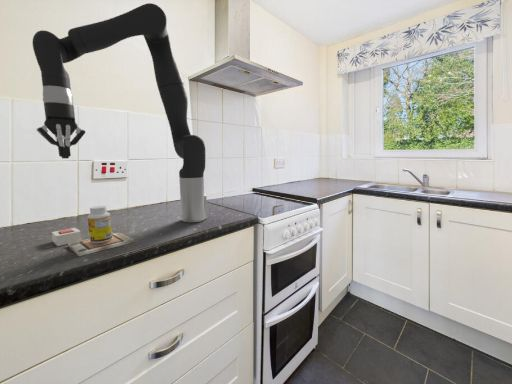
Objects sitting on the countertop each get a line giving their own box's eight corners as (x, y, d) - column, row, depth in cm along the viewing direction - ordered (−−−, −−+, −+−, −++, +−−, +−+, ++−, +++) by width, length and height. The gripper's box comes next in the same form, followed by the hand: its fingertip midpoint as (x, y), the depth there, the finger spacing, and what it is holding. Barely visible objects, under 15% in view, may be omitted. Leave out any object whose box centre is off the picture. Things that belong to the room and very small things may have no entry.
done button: (71, 236, 79) (70, 228, 78) (74, 238, 77) (73, 230, 76) (59, 238, 77) (58, 230, 76) (62, 241, 75) (61, 232, 74)
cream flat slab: (119, 234, 83) (119, 231, 83) (134, 242, 76) (133, 239, 76) (68, 246, 72) (67, 243, 72) (79, 256, 65) (78, 252, 65)
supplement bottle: (91, 239, 75) (87, 206, 74) (112, 236, 78) (109, 204, 76) (89, 245, 70) (85, 209, 69) (112, 242, 73) (109, 207, 72)
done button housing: (76, 236, 81) (75, 227, 81) (81, 240, 77) (80, 231, 77) (52, 241, 77) (51, 232, 76) (57, 246, 73) (56, 236, 72)
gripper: (33, 98, 73) (41, 158, 75) (86, 104, 82) (92, 158, 85) (29, 102, 78) (36, 158, 80) (79, 107, 87) (85, 158, 90)
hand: (65, 158), depth 83 cm, fingers closed
